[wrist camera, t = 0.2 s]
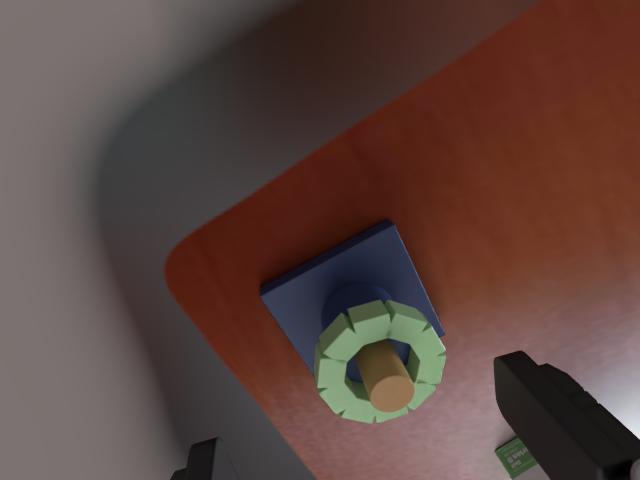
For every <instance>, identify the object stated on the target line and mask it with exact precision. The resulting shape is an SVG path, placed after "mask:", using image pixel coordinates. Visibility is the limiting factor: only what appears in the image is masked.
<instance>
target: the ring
mask: <svg viewBox="0 0 640 480" xmlns="http://www.w3.org/2000/svg"><path fill="white" fill-rule="evenodd" d="M347 311H348V315H349V317H347V316H346V315H344V314H343V313H340V315H339V316H338V317H337V318H336V319H335V320H334V321H333V322H332V323H331V324H330V325H329V326H328V327H327V329H326V330H325V331H324V332H323V333H322V334H321V335H320V336H319V339H320V342H317V343H316V349H315V360H314V375H315V380H316V385H317V388H318V392H319V394H320V396H321V397H322V398H323V399H324V401H325V402H326V403H327V404H328V405H329V407H330V408H331V409H332V410H333V411H334V413H335V414H338V413H340V415H341V417H342V418H346V419H350V420H355V421H360V422H364V423H369V424H371V423H372V421H373V419H374V417H375V420H376V422H377V423H380V422H383V421H386V420H390V419H393V418H396V417H400V416H403V415H406V414H408V409H407V407H409V408H411V409H412V410H415V409H416V408H417V407H418V406H419V405H420V404H421V403H422V402H423V401H424V400H426V399H427V398H428V397H429V396H430V395H431V394H432V393H433V392H434V391H435V390H436V387H435V385H434V384H438V383H440V381H441V376H442V372H443V368H444V364H445V359H446V355H445V353H444V351H445V348H444V346H443V344H442V343H441V341H440V339H439V337H438V336H437V334H436V332H435V331H434V329H433V327H432V326H431V324H430V323H429V322H428V320H427V319H426V318H425V316H424V315H423V314H422V312H420V313H419V311H418V310H417V309H416V308H413V307H410V306H407V305H404V304H401V303H397V302H394V301H391V300H387V301H386V303H385V305H384V304H383V303H382V301H381V300H377V301H373V302H370V303H366V304H363V305H359V306H356V307H352V308H349V309H347ZM386 338H390V339H394V340H397V341H401V342H404V343H408V344H410V346H411V347H410V352H409V357H408V362H407V364H406V365H405V366H404V367H405V369H406V370H407V372H408V374H409V376H410V378H411V380H412V382H413V384H414V387H415V393H414V396H413V399H412V400H411V402H410V403H409V404H408V405H407V406H406V407H404V408H403V409H401V410H398V411H395V412H381V411H379V410H377V409H375V408H374V407H373V406H372V404H371V402H370V400H369V397H368V394H367V391H366V388H365V386H364V383H360V382H355V381H351V380H350V379H349V377H348V376H347V375H346V366H347V362H348V361H349V360H350V359H351V358H352V357H353V356H354V355H355V354H356V353H357V352H358V351H359V349H360V348H361V347H362V346H363V345H366V344H369V343H372V342H376V341H379V340H383V339H386Z"/></svg>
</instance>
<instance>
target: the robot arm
mask: <svg viewBox="0 0 640 480" xmlns="http://www.w3.org/2000/svg"><path fill="white" fill-rule="evenodd" d="M494 377H495V392H496V400H497V404H498V407H499V409H500V411H501V413H502V415H503V417H504V418H505V420H506V421H507V423H508V424H509V425H510V427H511V428H512V429H513V431H514V432H515V433H516V435H517V436H518V437H519V439H520V440H521V441H522V443H523V444H524V445H525V447H526V448H527V449H528V451H529V452H530V453H531V455H532V456H533V457H534V459H535V460H536V461H537V463H538V464H539V465H540V467H541V468H542V469H543V471H544V472H545V473H546V475H547V476H548V477H549V479H550V480H640V440H639V439H638V438H637V437H636V436H635V435H634V434H633V433H632V432H631V431H630V430H629V429H627V428H626V427H625V426H624V425H623V424H622V423H621V422H620V421H619V420H618V419H616V418H615V417H614V416H613V415H612V414H611V413H610V412H609V411H608V410H607V409H606V408H604V407H603V406H602V405H601V404H600V403H599V404H598V403H597V401H596V399H595V398H593V397H592V396H591V395H590V394H589V393H588V392H587V391H584V389H583V387H581V386H580V385H579V384H578V383H577V382H576V381H575V380H574V379H573V378H572V377H570V376H569V375H568V374H567V373H565V372H563V371H561V370H559V369H557V368H555V367H553V366H551V365H549V364H547V363H546V364H543V365H539V366H538V365H537V364H536V363H535V362H534V361H533V360H532V359H531V358H530V357H529V356H528V355H527V354H526V353H525V352H523V351H516V352H513V353H509V354H506V355H502V356H499V357H496V358H494ZM170 480H239V478H238V475H237V472H236V469H235V467H234V465H233V463H232V460H231V458H230V456H229V454H228V451H227V449H226V447H225V444H224V443H223V440H222V439H221V437H216V438H213V439H209V440H206V441H203V442H199V443H195V444H193V445H192V446H191V448H190V451H189V457H188V462H187V467H186V468H185V469H181V470H177V471H175V472H174V474H173V476H172V477H171V479H170Z"/></svg>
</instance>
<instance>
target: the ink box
mask: <svg viewBox="0 0 640 480" xmlns="http://www.w3.org/2000/svg"><path fill="white" fill-rule="evenodd" d="M495 453H496V454H497V456H498V457H499V459H500V461H501V462H502V464H503V465H504V467H505V469H506V470H507V472H508V473H509V475H510V477H511V478H512V480H550V479H549V477H548V476H547V475H546V473H545V472H544V471H543V469H542V468H541V467H540V465H539V464H538V463H537V461H536V460H535V459H534V457H533V456H532V455H531V453H530V452H529V451H528V449H527V448H526V447H525V445H524V444H523V443H522V441H521V440H520V439H519V437H518V438H516V439H514V440H512V441H511V442H509V443H507V444H506V445H504V446H503V447H501V448H499V449H498V450H496V452H495Z"/></svg>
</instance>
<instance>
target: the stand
mask: <svg viewBox="0 0 640 480" xmlns="http://www.w3.org/2000/svg"><path fill="white" fill-rule="evenodd" d="M260 298H261V299H262V301H263V302H264V304H265V305H266V307H267V308H268V310H269V311H270V313H271V314H272V315H273V317H274V318H275V320H276V321H277V323H278V324H279V326H280V327H281V329H282V330H283V332H284V333H285V335H286V336H287V337H288V339H289V340H290V342H291V343H292V345H293V346H294V348H295V349H296V351H297V352H298V354H299V355H300V357H301V358H302V360H303V361H304V362H305V364H306V365H307V367H308V368H309V370H310V371H311V373H312V374H313V376H314V377H315V375H314V360H315V349H316V343H317V342H320V339H319V336H320V335H321V334H322V333H323V332H324V331H325V330H326V329H327V327H328V326H329V325H330V324H331V323H332V322H333V321H334V320H335V319H336V318H337V317H338V316H339V315H340V313H343V314H344V315H346V316H347V317H349V315H348V311H347V309H349V308H352V307H356V306H359V305H363V304H366V303H370V302H373V301H377V300H381V301H382V303H383V304H384V305H385V303H386V301H387V300H391V301H394V302H397V303H401V304H404V305H407V306H410V307H413V308H416V309H417V310H418V311H419V313H420V312H422V314H423V315H424V316H425V318H426V319H427V320H428V322H429V323H430V324H431V326H432V327H433V329H434V331H435V332H436V334H437V336H438V337H439V338H440V337H442V336H444V335H445V332H444V330H443V328H442V326H441V324H440V321H439V319H438V317H437V315H436V313H435V311H434V309H433V306H432V304H431V302H430V300H429V298H428V296H427V293H426V291H425V289H424V287H423V285H422V283H421V280H420V278H419V276H418V274H417V272H416V270H415V268H414V265H413V263H412V261H411V259H410V257H409V255H408V252H407V250H406V248H405V246H404V244H403V242H402V239H401V237H400V235H399V233H398V231H397V229H396V227H395V225H394V224H393V223H392V222H391V221H390V220H389V219H386V220H385V221H383V222H381V223H379V224H377V225H375V226H373V227H372V228H370V229H368V230H366V231H364V232H362V233H360V234H359V235H357V236H355V237H353V238H351V239H349V240H347V241H346V242H344V243H342V244H340V245H338V246H336V247H334V248H332V249H331V250H329V251H327V252H325V253H323V254H321V255H319V256H318V257H316V258H314V259H312V260H310V261H308V262H306V263H305V264H303V265H301V266H299V267H297V268H295V269H293V270H292V271H290V272H288V273H286V274H284V275H282V276H280V277H279V278H277V279H275V280H273V281H271V282H269V283H267V284H266V285H264V286H262V287H260ZM410 347H411V346H410V344H408V343H404V342H401V341H397V340H394V339H390V338H386V339H383V340H379V341H376V342H372V343H369V344H366V345H363V346H362V347H361V348H360V349H359V351H358V352H357V353H356V354H355V355H354V356H353V357H352V358H351V359H350V360H349V361H348V362H347V366H346V375H347V376H348V377H349V379H350V380H351V381H355V382H360V383H364V386H365V388H366V391H367V394H368V397H369V400H370V402H371V404H372V406H373V407H374V408H375V409H377V410H379V411H381V412H395V411H398V410H401V409H403V408H404V407H406V406H407V405H408V404H409V403H410V402H411V400H412V399H413V396H414V393H415V387H414V384H413V382H412V380H411V378H410V376H409V374H408V372H407V370H406V369H405V367H404V366H405V365H406V364H407V362H408V357H409V352H410Z"/></svg>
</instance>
